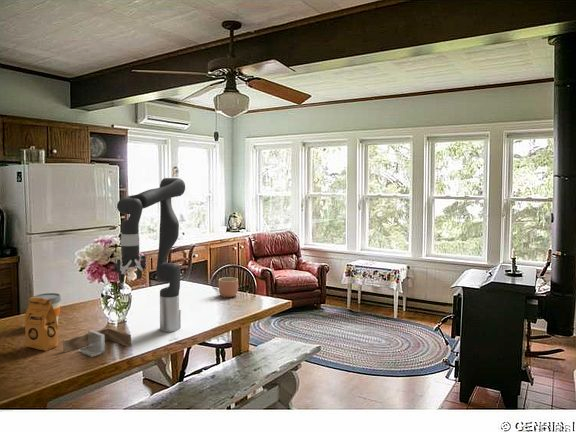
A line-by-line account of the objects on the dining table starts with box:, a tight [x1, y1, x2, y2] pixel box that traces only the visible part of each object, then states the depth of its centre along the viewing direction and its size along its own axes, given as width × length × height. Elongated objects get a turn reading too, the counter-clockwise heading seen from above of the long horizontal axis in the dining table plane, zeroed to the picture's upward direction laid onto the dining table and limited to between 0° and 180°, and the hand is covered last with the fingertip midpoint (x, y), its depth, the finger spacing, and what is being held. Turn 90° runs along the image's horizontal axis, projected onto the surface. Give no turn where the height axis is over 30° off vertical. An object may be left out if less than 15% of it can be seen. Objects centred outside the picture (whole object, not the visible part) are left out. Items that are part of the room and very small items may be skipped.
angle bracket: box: [78, 329, 106, 358], centre depth 191 cm, size 10×6×8 cm, turn 54°
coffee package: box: [24, 296, 59, 352], centre depth 195 cm, size 10×12×22 cm
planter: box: [218, 276, 239, 298], centre depth 285 cm, size 12×12×11 cm
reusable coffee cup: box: [33, 292, 62, 325], centre depth 223 cm, size 13×13×15 cm
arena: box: [62, 326, 132, 353], centre depth 195 cm, size 22×16×5 cm
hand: (130, 280), depth 195 cm, fingers open, 8 cm apart
